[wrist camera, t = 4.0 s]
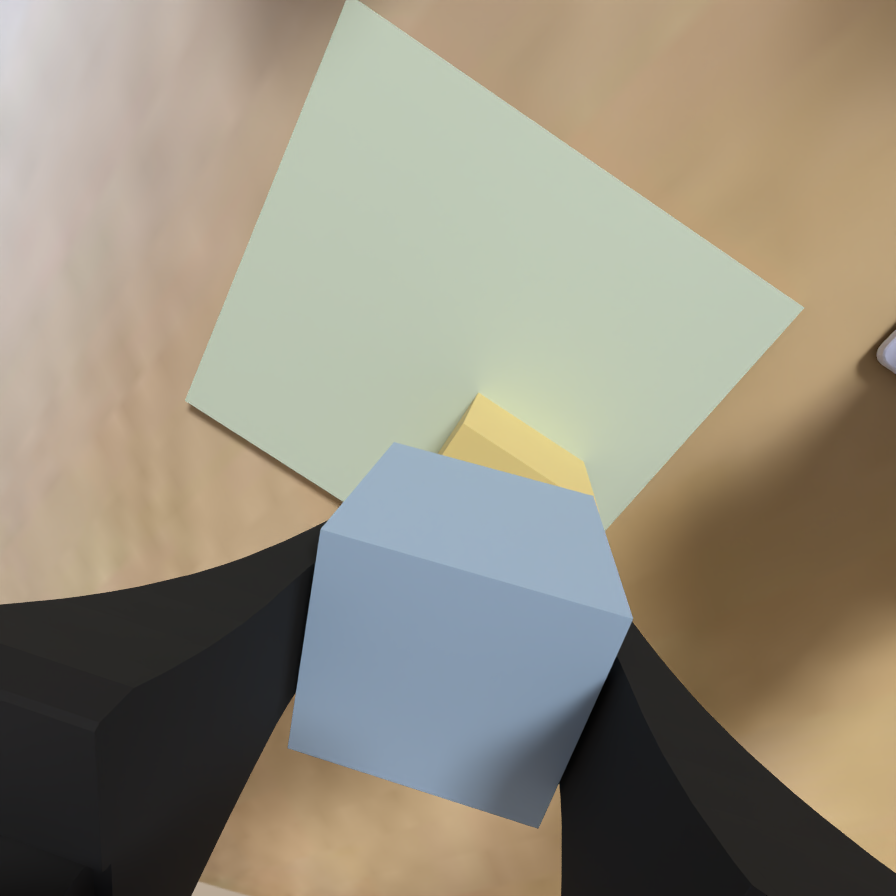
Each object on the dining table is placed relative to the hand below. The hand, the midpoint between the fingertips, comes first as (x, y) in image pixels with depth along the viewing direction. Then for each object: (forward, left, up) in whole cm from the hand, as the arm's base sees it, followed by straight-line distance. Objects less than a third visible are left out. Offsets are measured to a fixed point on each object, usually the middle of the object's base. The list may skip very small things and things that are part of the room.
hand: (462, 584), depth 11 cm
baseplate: (+3, -2, -9) cm, 10 cm away
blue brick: (0, 0, -1) cm, 1 cm away
